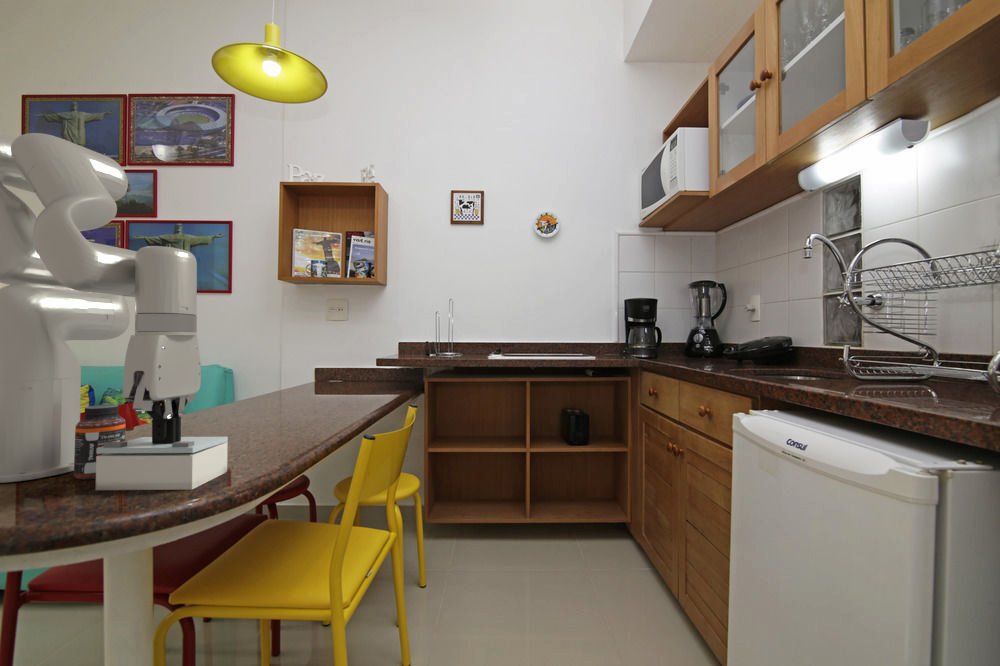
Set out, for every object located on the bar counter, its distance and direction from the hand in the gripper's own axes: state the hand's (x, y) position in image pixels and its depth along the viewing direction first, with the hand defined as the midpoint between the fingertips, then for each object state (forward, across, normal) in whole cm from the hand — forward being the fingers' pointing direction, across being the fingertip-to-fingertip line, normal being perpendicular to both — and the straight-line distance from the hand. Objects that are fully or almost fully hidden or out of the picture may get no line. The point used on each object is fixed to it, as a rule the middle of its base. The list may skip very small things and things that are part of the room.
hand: (166, 443), depth 63 cm
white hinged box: (+6, -1, -1) cm, 6 cm away
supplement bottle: (+6, -4, -14) cm, 15 cm away
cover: (+1, -1, -1) cm, 1 cm away
